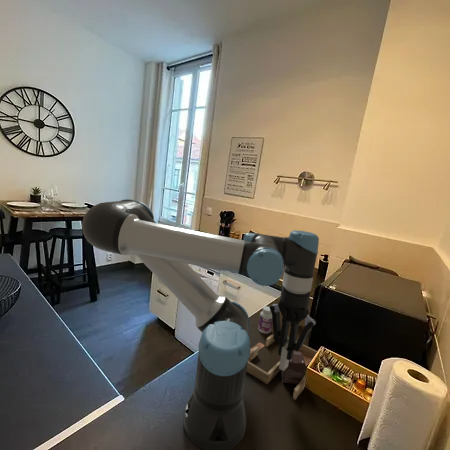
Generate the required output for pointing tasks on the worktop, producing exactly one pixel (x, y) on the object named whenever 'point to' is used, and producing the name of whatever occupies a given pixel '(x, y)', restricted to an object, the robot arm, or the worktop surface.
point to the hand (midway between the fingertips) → (283, 367)
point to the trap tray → (267, 377)
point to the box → (294, 369)
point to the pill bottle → (265, 320)
